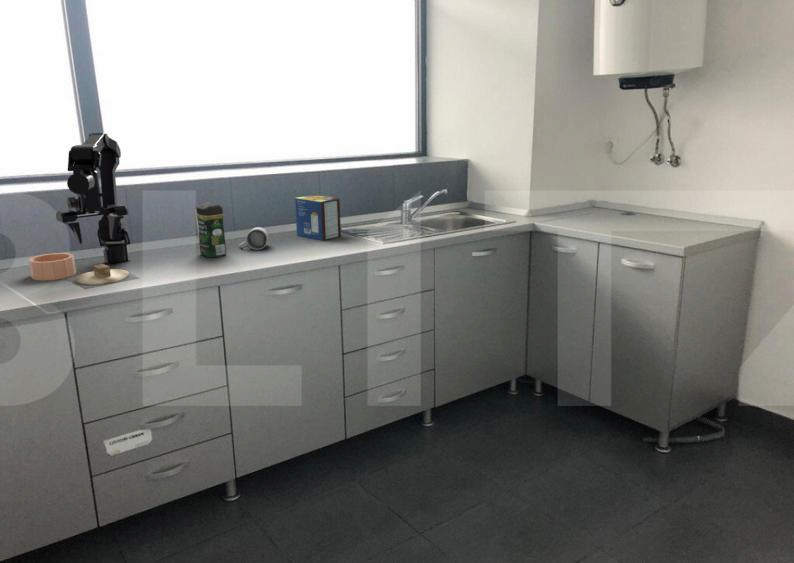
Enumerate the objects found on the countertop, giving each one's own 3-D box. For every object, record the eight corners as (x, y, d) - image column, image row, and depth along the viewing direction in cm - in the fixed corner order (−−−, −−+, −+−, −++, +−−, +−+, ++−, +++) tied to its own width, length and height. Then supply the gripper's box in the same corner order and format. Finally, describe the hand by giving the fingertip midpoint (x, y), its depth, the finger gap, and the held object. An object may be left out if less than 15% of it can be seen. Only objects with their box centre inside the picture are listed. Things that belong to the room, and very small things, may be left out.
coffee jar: (196, 254, 224) (191, 202, 219) (217, 251, 229) (213, 200, 224) (209, 259, 217) (204, 205, 212) (230, 255, 222) (225, 203, 217)
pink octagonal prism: (67, 269, 205) (64, 251, 203) (81, 276, 197) (78, 257, 195) (27, 276, 197) (23, 257, 195) (39, 284, 189) (36, 264, 187)
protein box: (315, 231, 262) (313, 194, 258) (341, 236, 253) (340, 198, 248) (296, 235, 255) (294, 197, 250) (322, 241, 245) (320, 201, 241)
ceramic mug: (269, 244, 239) (267, 224, 237) (268, 249, 231) (266, 228, 229) (241, 246, 238) (239, 226, 236) (238, 250, 230) (236, 230, 228)
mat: (118, 270, 204) (118, 268, 204) (140, 279, 193) (139, 277, 193) (65, 279, 193) (65, 278, 193) (85, 290, 182) (85, 288, 182)
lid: (117, 269, 203) (115, 257, 202) (137, 277, 193) (136, 265, 192) (67, 278, 193) (66, 266, 192) (86, 288, 183) (85, 275, 182)
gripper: (110, 184, 197) (116, 233, 202) (45, 190, 185) (54, 242, 189) (125, 187, 190) (131, 238, 194) (59, 193, 177) (67, 248, 181)
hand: (96, 241), depth 190 cm, fingers open, 9 cm apart
